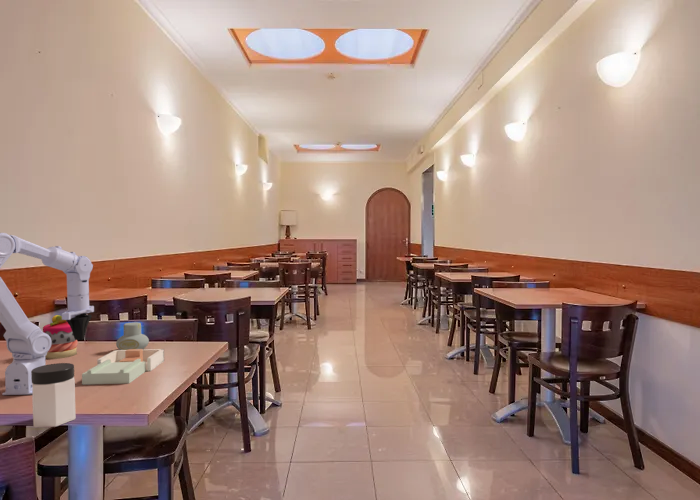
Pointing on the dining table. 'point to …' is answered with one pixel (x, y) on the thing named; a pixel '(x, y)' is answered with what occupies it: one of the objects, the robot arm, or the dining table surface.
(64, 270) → the robot arm
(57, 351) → the cake
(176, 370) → the dining table surface
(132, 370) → the two-ridged green plate
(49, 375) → the jar
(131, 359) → the tile
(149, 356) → the box
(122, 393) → the dining table surface
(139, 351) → the tile
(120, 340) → the air freshener
